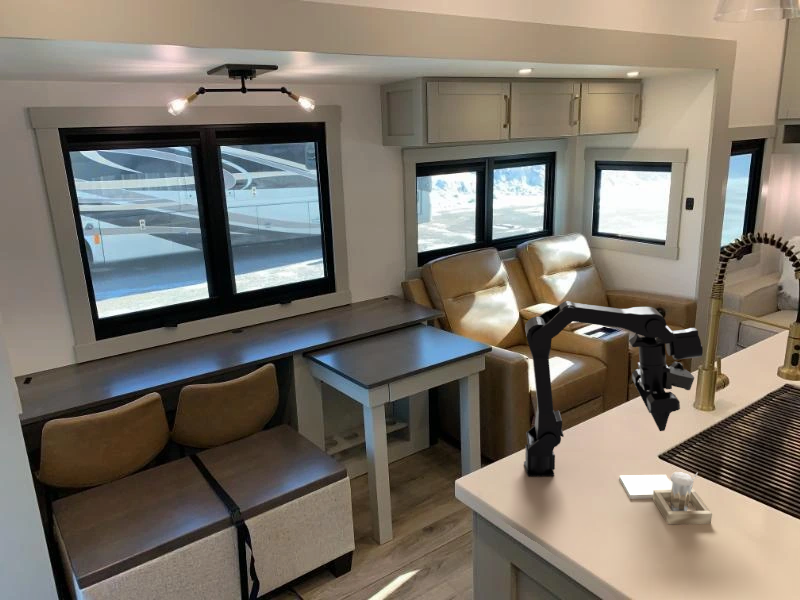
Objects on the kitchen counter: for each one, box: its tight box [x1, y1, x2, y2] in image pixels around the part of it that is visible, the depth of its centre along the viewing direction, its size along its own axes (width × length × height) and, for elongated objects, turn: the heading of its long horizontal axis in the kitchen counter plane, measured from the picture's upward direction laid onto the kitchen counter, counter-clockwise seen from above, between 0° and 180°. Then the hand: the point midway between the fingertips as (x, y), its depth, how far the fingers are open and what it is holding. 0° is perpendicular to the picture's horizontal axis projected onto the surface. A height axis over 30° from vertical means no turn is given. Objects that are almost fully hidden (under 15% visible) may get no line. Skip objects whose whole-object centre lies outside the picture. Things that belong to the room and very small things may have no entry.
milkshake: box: [669, 471, 699, 511], centre depth 133 cm, size 5×5×10 cm
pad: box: [618, 474, 671, 500], centre depth 143 cm, size 11×8×1 cm
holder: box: [652, 488, 713, 525], centre depth 134 cm, size 9×9×2 cm
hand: (656, 421), depth 146 cm, fingers open, 9 cm apart
